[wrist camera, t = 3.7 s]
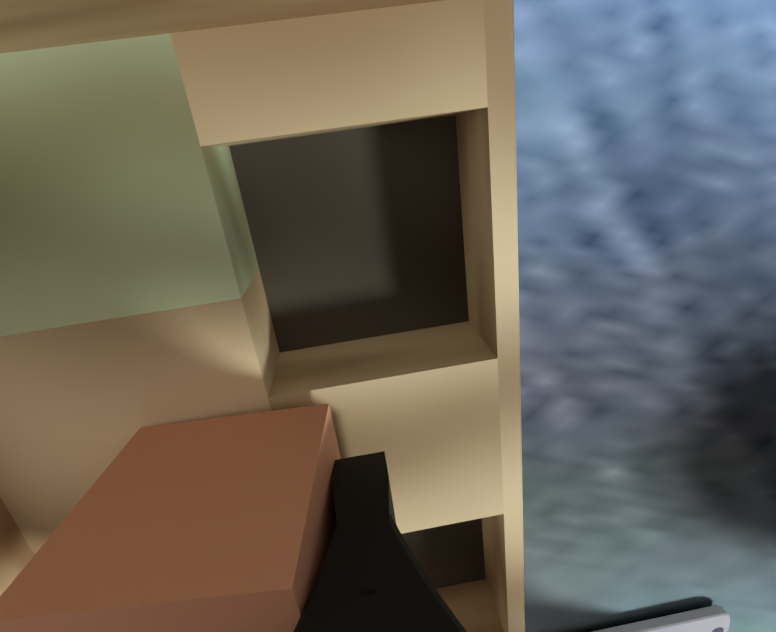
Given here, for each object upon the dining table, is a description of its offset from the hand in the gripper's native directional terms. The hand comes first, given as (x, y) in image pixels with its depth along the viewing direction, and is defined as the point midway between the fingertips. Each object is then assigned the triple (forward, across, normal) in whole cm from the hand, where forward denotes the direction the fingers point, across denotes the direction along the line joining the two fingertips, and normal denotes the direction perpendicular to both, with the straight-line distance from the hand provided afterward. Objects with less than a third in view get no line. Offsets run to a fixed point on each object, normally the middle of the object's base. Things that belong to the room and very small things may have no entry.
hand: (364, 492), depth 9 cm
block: (+1, +2, 0) cm, 2 cm away
